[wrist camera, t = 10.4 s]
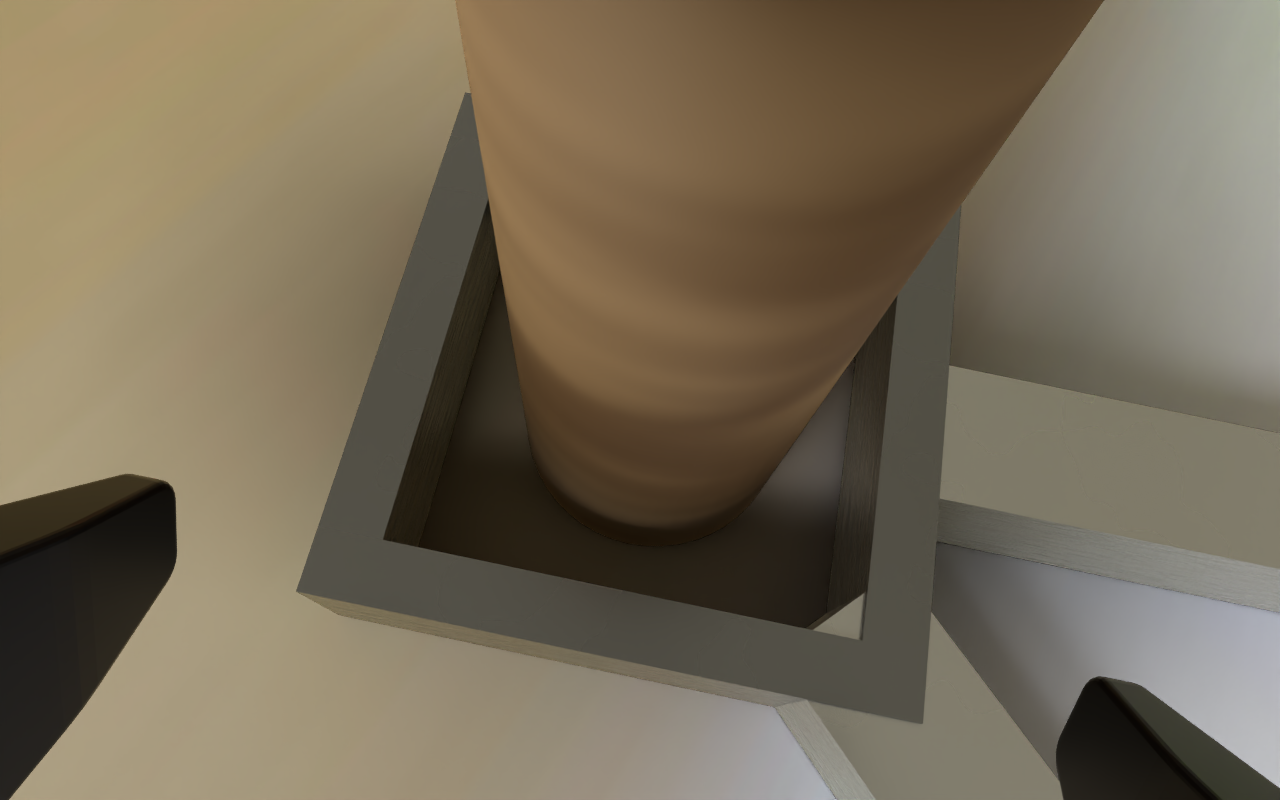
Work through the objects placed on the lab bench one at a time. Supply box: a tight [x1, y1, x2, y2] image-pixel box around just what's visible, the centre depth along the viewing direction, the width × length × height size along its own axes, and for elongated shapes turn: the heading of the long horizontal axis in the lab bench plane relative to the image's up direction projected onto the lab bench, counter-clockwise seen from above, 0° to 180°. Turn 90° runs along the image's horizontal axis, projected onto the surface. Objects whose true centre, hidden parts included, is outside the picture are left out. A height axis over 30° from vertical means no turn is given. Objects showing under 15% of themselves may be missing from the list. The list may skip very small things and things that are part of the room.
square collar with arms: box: [296, 93, 1280, 800], centre depth 15 cm, size 14×17×2 cm
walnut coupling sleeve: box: [455, 0, 1104, 546], centre depth 11 cm, size 5×5×13 cm
